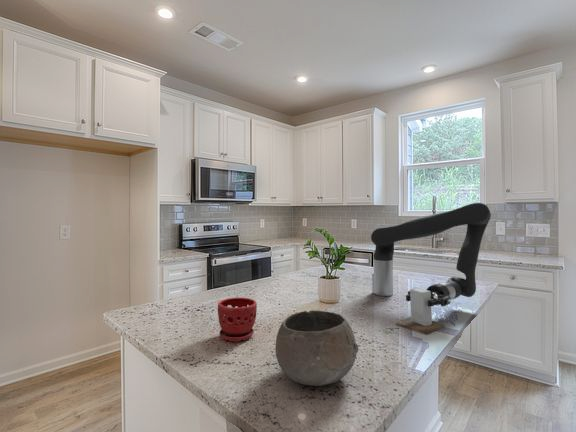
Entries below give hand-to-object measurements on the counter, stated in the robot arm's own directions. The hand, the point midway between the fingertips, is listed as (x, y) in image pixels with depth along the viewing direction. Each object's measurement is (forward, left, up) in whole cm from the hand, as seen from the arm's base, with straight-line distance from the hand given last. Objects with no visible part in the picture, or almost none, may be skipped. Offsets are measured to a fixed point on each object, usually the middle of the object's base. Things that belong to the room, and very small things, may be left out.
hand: (417, 300), depth 115 cm
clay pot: (+3, -51, -9) cm, 52 cm away
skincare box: (0, +2, -9) cm, 9 cm away
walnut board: (0, +2, -9) cm, 9 cm away
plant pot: (-33, -55, -9) cm, 65 cm away
